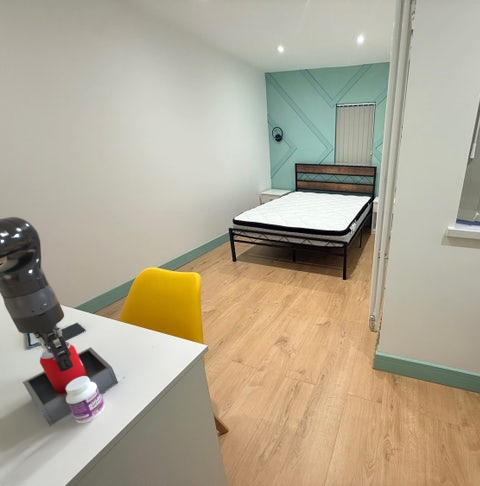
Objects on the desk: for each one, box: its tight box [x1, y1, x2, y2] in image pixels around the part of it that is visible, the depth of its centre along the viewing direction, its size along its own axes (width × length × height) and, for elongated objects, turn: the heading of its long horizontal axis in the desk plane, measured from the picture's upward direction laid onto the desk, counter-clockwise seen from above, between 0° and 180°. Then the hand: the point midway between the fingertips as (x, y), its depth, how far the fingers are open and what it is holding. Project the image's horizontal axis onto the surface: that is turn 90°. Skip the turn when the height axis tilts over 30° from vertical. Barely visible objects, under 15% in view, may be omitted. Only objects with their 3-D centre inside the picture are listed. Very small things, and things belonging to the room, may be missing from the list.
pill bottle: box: [66, 376, 106, 424], centre depth 61 cm, size 5×5×10 cm
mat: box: [60, 322, 87, 342], centre depth 87 cm, size 9×7×1 cm
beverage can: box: [39, 341, 88, 394], centre depth 65 cm, size 6×6×12 cm
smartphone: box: [25, 333, 41, 350], centre depth 89 cm, size 7×1×15 cm
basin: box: [22, 347, 119, 427], centre depth 67 cm, size 14×14×6 cm
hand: (62, 362), depth 65 cm, fingers closed on beverage can, 6 cm apart
